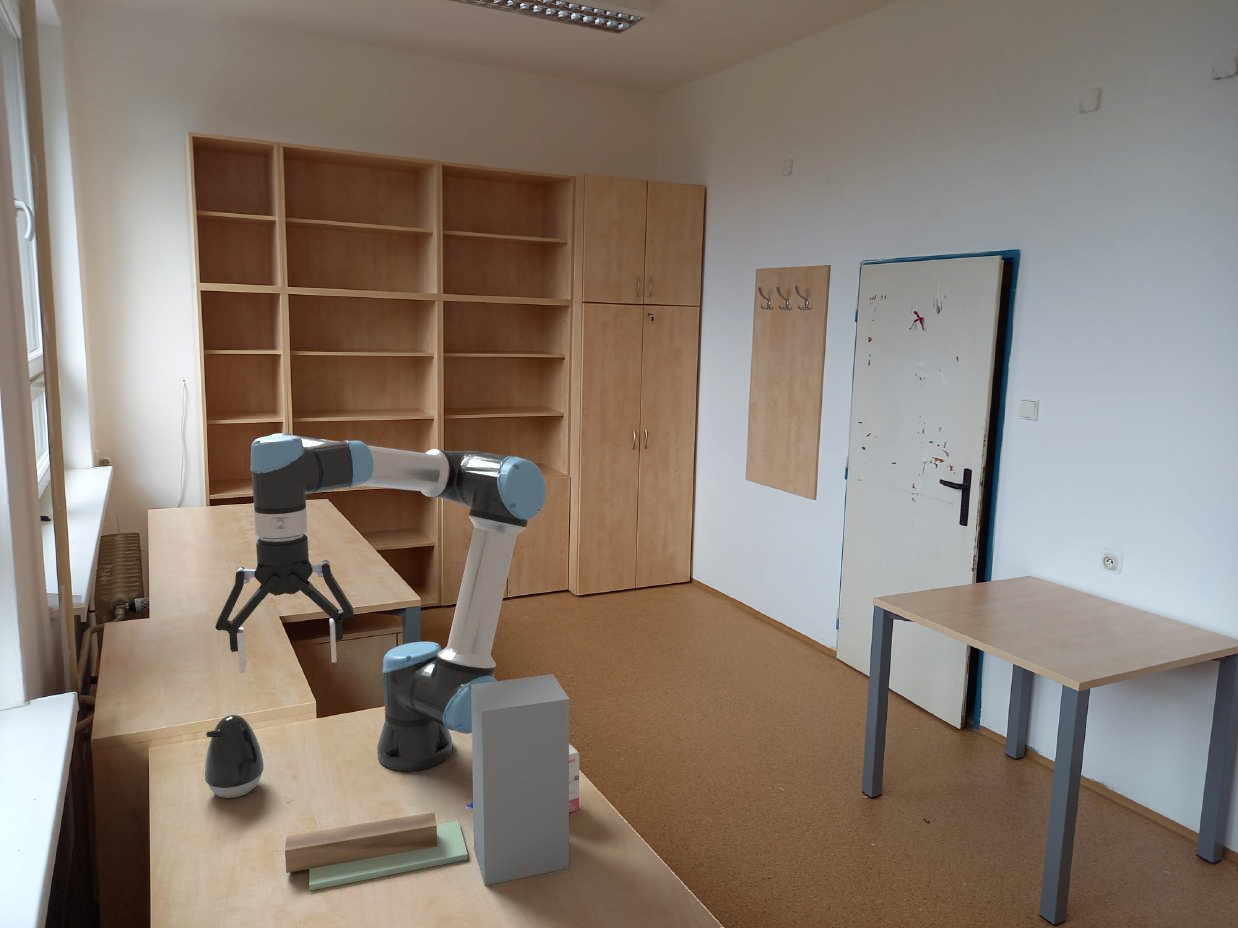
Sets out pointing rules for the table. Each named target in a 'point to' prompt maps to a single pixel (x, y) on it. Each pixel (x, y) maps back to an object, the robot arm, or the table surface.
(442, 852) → the mat
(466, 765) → the table surface
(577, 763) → the ink box
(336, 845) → the walnut bar
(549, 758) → the stand
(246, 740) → the pump dispenser
